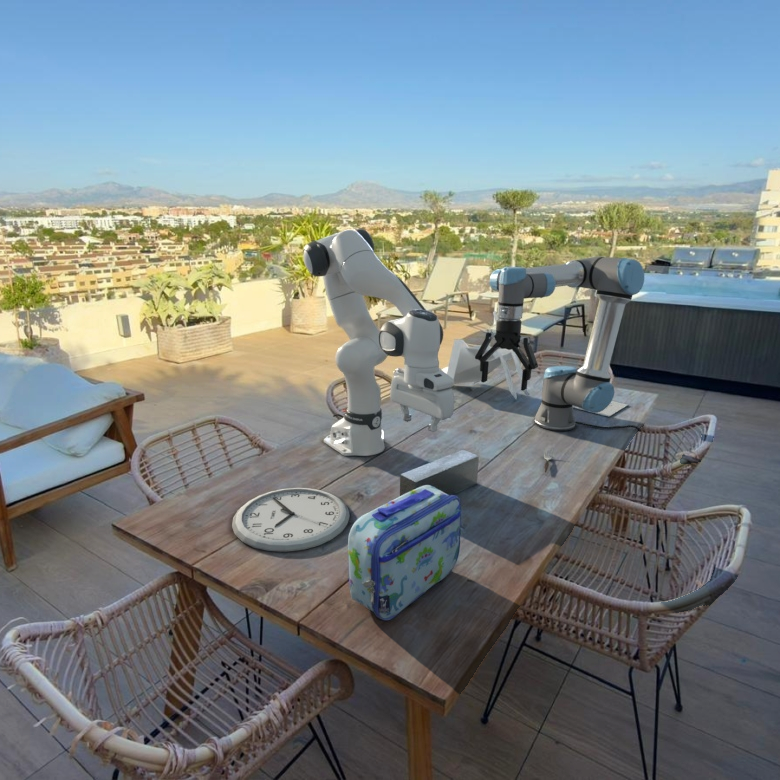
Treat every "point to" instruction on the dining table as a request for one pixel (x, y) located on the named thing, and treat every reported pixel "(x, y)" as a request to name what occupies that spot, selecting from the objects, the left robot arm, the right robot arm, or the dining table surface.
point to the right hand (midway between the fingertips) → (503, 385)
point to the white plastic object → (468, 367)
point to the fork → (547, 459)
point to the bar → (443, 474)
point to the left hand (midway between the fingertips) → (419, 425)
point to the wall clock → (290, 519)
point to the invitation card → (609, 408)
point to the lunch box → (403, 549)
